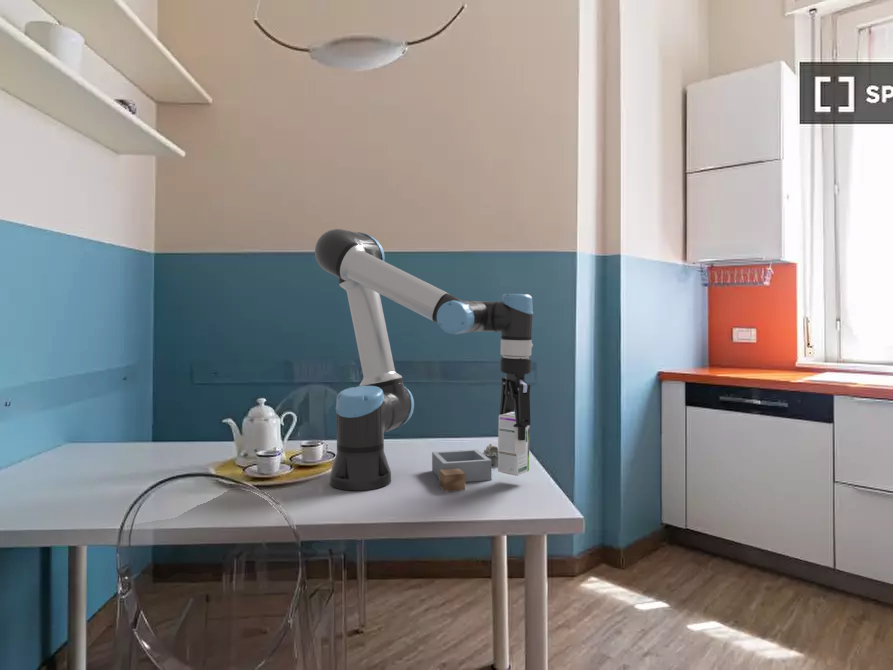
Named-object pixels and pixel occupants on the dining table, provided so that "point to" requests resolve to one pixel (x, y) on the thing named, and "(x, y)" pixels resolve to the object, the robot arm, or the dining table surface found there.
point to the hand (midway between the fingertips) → (513, 448)
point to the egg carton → (492, 454)
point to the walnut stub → (452, 479)
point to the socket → (463, 464)
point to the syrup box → (511, 447)
